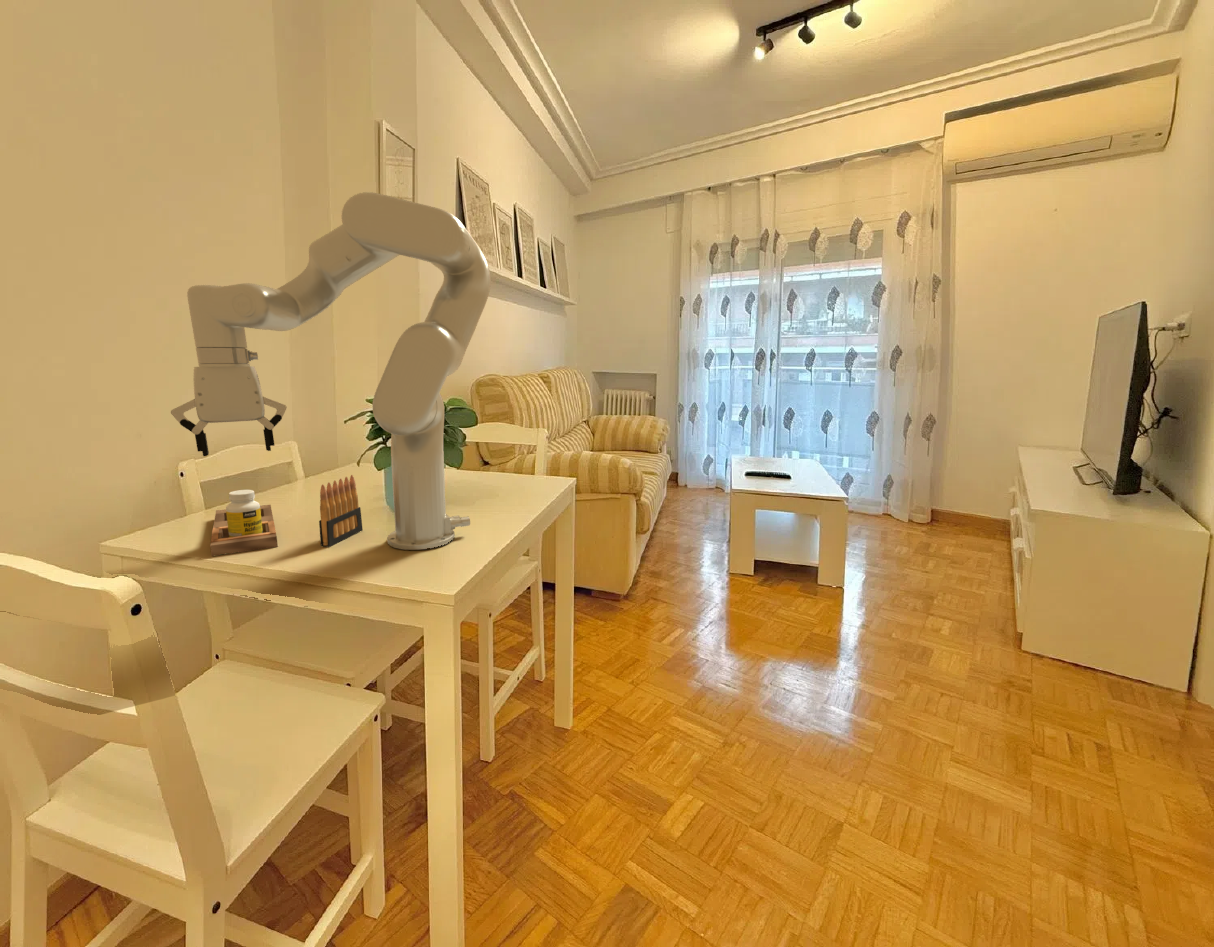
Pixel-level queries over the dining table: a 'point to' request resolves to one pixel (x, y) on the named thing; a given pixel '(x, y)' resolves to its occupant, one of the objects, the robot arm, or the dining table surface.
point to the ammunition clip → (339, 512)
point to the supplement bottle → (243, 514)
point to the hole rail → (242, 543)
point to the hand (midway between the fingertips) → (238, 452)
